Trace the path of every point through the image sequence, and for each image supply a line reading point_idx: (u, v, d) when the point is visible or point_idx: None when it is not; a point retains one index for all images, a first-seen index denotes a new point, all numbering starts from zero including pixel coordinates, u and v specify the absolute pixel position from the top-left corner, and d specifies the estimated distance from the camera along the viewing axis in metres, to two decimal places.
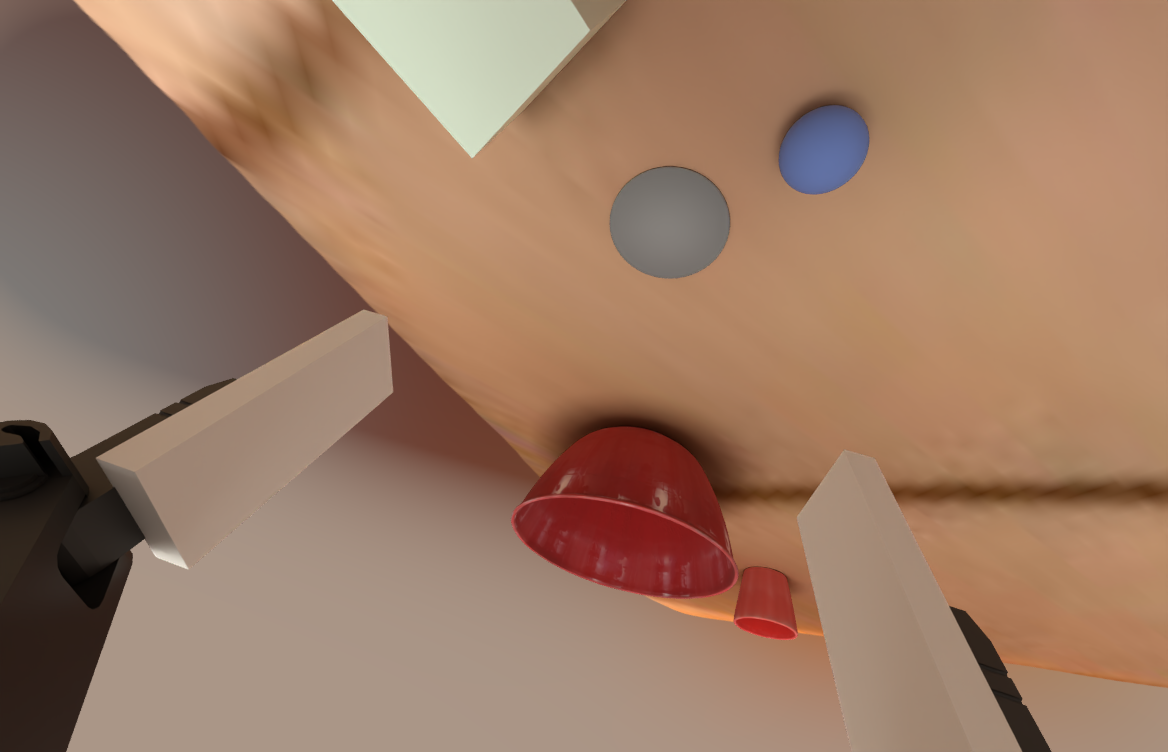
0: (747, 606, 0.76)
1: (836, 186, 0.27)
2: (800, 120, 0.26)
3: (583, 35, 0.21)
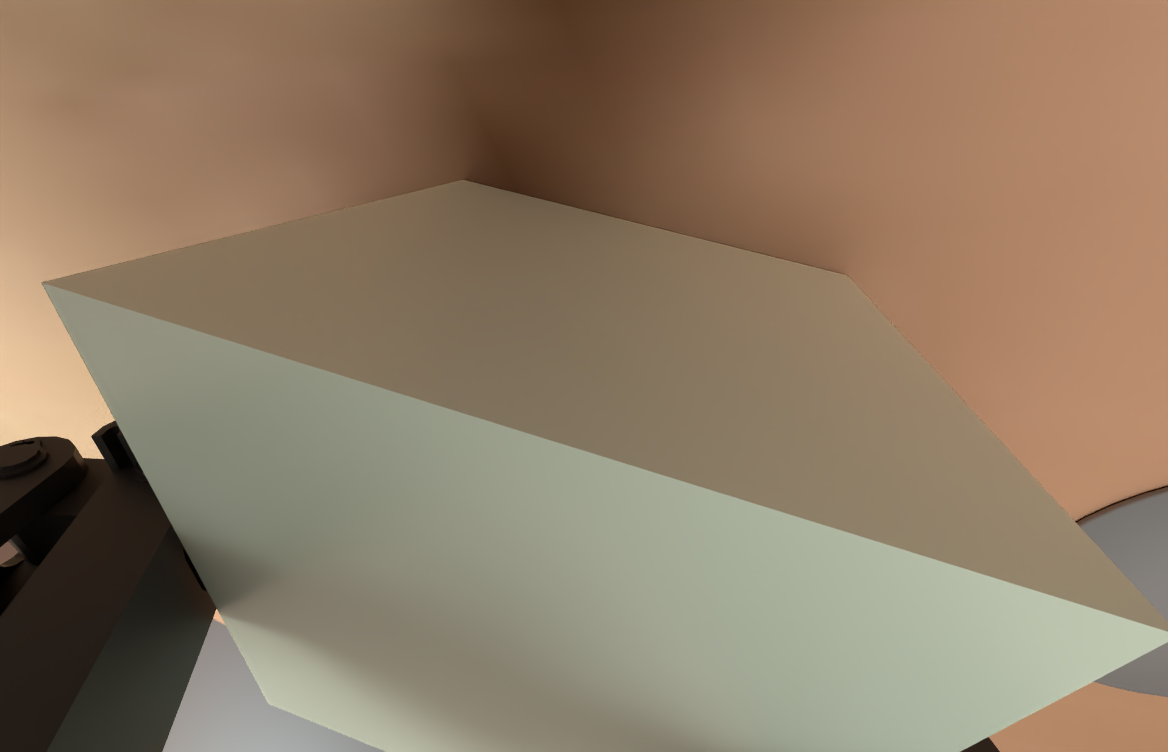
0: None
1: None
2: None
3: (1123, 656, 0.03)
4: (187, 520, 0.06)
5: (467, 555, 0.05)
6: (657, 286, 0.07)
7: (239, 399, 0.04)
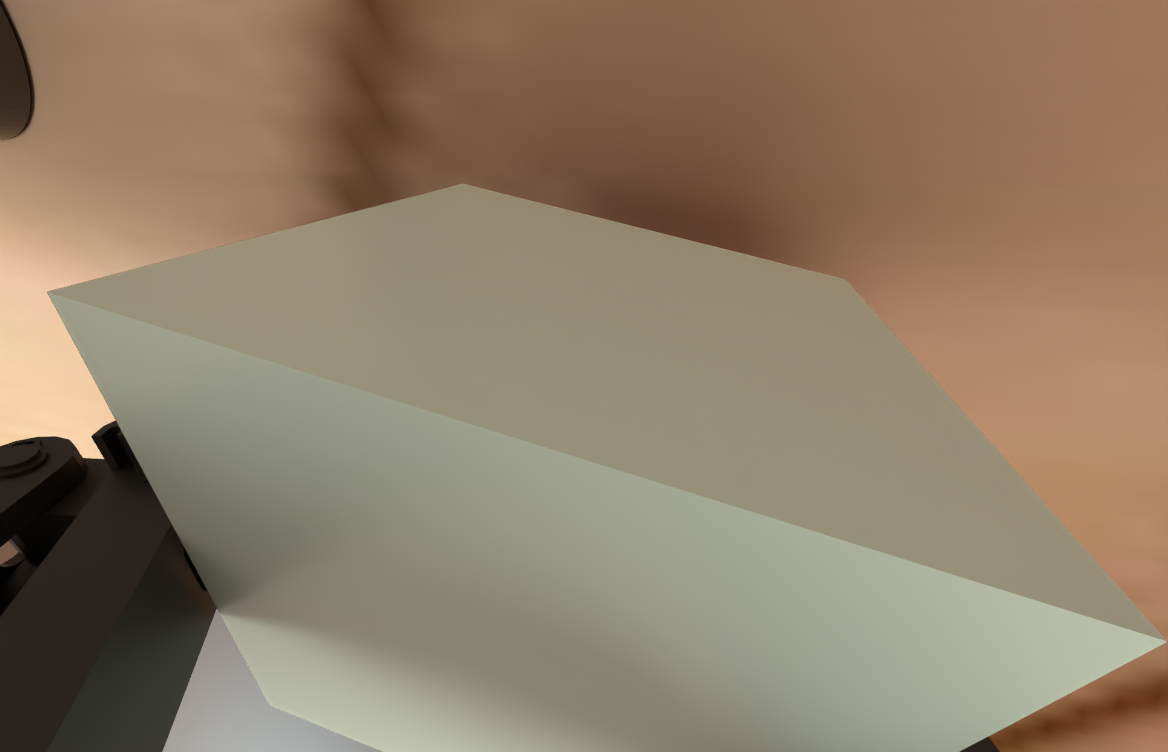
0: None
1: None
2: None
3: (1112, 661, 0.03)
4: (190, 525, 0.06)
5: (467, 560, 0.05)
6: (655, 291, 0.07)
7: (242, 406, 0.04)
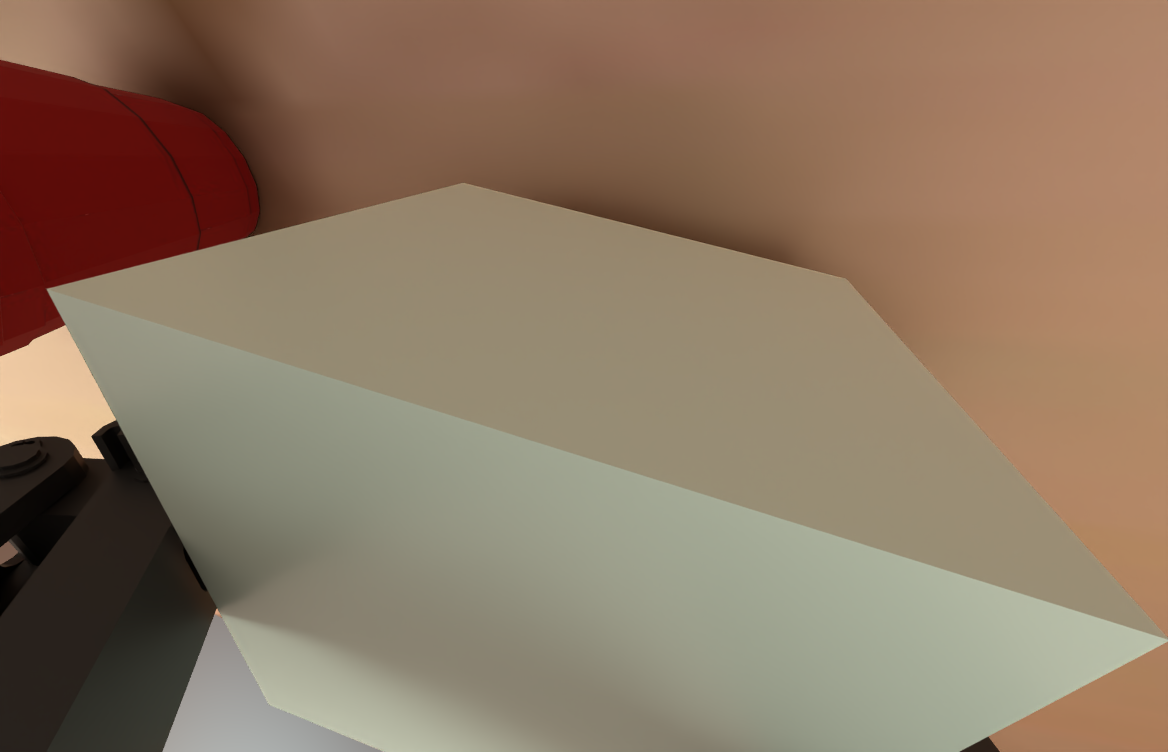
0: None
1: None
2: None
3: (1115, 660, 0.03)
4: (189, 523, 0.06)
5: (467, 559, 0.05)
6: (656, 290, 0.07)
7: (243, 404, 0.04)
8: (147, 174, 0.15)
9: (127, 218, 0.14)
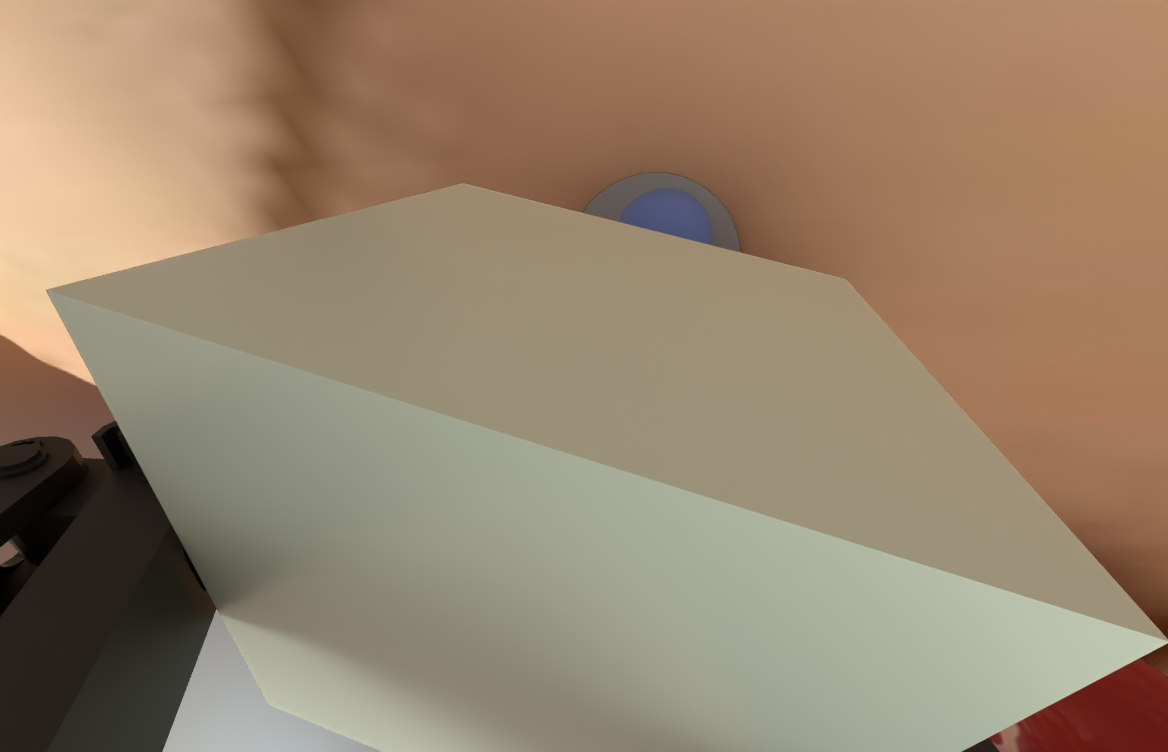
0: None
1: None
2: None
3: (1115, 661, 0.03)
4: (189, 524, 0.06)
5: (467, 560, 0.05)
6: (656, 291, 0.07)
7: (242, 405, 0.04)
8: None
9: None
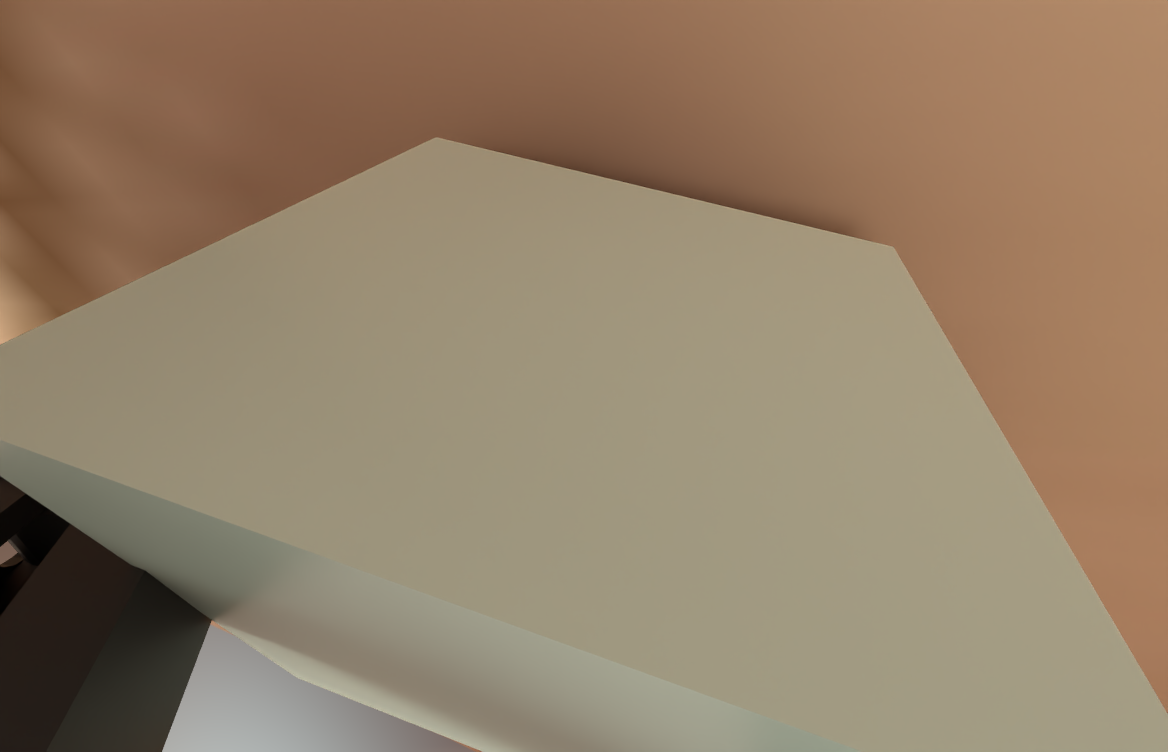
0: None
1: None
2: None
3: None
4: (159, 577, 0.06)
5: (428, 656, 0.04)
6: (653, 299, 0.06)
7: (147, 519, 0.04)
8: None
9: None
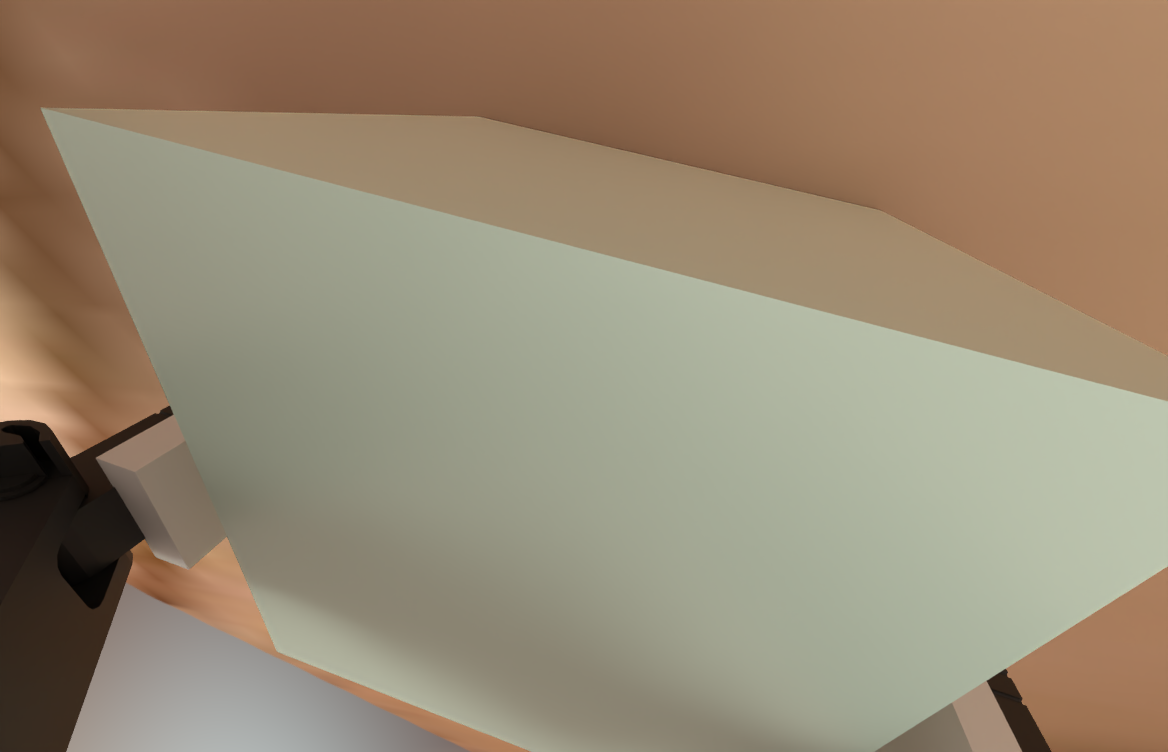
0: None
1: None
2: None
3: None
4: (197, 421, 0.06)
5: (507, 432, 0.04)
6: (693, 191, 0.07)
7: (260, 245, 0.04)
8: None
9: None
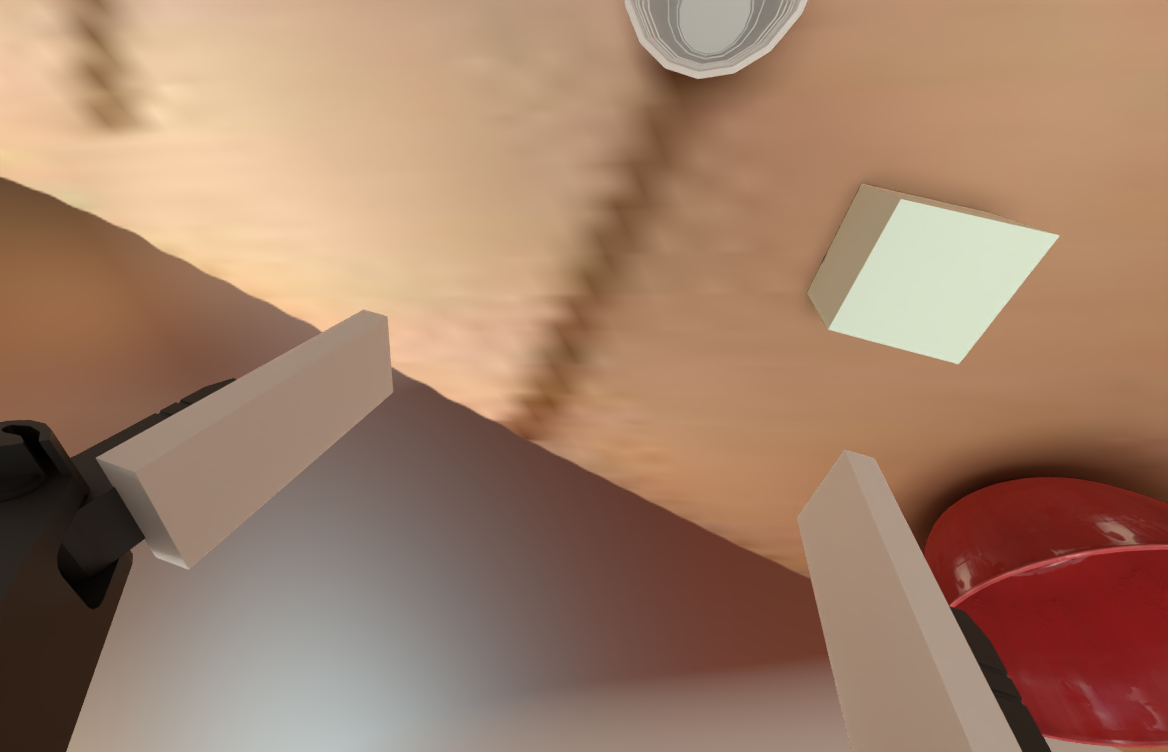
0: None
1: None
2: None
3: (1054, 240, 0.29)
4: (878, 250, 0.31)
5: (951, 244, 0.30)
6: (957, 208, 0.33)
7: (925, 216, 0.30)
8: None
9: None
